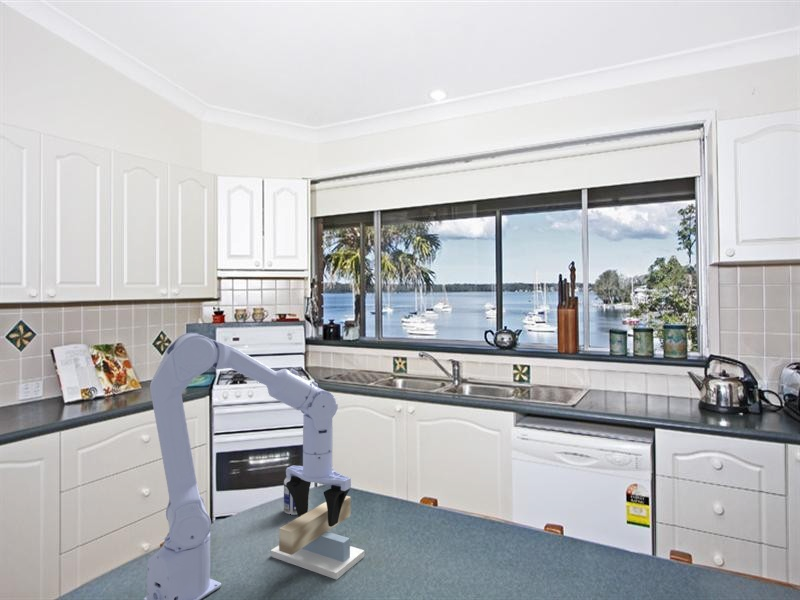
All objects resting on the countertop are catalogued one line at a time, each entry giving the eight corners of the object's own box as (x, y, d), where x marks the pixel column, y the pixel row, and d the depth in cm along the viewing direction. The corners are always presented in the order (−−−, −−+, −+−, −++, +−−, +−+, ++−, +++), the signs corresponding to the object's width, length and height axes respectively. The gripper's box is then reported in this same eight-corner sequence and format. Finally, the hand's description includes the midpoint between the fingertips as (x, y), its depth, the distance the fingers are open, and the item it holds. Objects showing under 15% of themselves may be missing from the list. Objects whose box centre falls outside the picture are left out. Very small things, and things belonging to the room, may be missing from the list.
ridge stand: (336, 579, 85) (336, 552, 85) (270, 556, 93) (270, 531, 93) (364, 556, 93) (364, 531, 93) (301, 537, 101) (301, 514, 101)
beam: (291, 554, 84) (291, 532, 84) (279, 550, 86) (279, 528, 86) (350, 515, 100) (350, 496, 100) (339, 512, 101) (339, 494, 101)
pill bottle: (311, 506, 116) (311, 465, 116) (304, 516, 111) (304, 473, 111) (288, 505, 117) (288, 464, 117) (280, 515, 111) (280, 472, 111)
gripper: (360, 450, 93) (359, 520, 93) (302, 440, 100) (302, 504, 100) (338, 460, 87) (338, 535, 87) (279, 448, 94) (278, 517, 94)
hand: (317, 520), depth 93 cm, fingers open, 7 cm apart
